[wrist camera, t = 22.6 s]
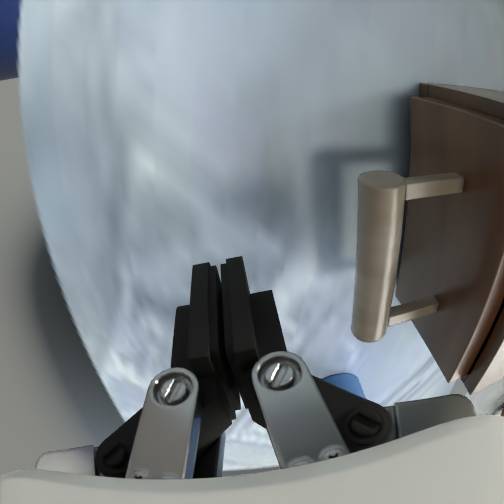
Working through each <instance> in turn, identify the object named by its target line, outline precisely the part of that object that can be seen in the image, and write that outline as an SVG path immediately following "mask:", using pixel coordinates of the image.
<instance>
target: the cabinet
mask: <svg viewBox="0 0 504 504" xmlns="http://www.w3.org/2000/svg"><path fill="white" fill-rule="evenodd" d="M420 97H432V98H436V99H439V100H443V101H447V102H450V103H454V104H457V105H461V106H464V107H467V108H470V109H474V110H477V111H480V112H483V113H486V114H489V115H491V116H494V117H497V118H500V119H502V120H504V92H499V91H493V90H486V89H480V88H472V87H464V86H455V85H445V84H433V83H420ZM502 378H504V307H503V310H502V312H501V314H500V316H499V319H498V321H497V323H496V325H495V327H494V329H493V331H492V334H491V336H490V338H489V340H488V342H487V344H486V346H485V347H484V349H483V347H481V349H480V351H479V353H478V355H477V357H476V358H475V360H474V362H473V364H472V366H471V368H470V369H469V371H468V373H467V375H466V376H464V377H461V380H462V382H463V383H464V385H465V387H466V388H467V390H468V392H469V394H470V395H472V394H474V393H476V392H478V391H480V390H481V389H483V388H485V387H487V386H489V385H491V384H493V383H495V382H496V381H498V380H500V379H502Z"/></svg>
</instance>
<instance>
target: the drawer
mask: <svg viewBox="0 0 504 504" xmlns="http://www.w3.org/2000/svg"><path fill="white" fill-rule="evenodd" d="M404 200H408V203H407V215H406V225H405V234H404V243H403V251H402V258H401V265H400V272H399V278H398V284H397V290H396V297H397V299H398V300H399V302H400V303H401V305H398V306H394V307H391V303H392V297H393V292H394V286H395V279H396V273H397V266H398V258H399V251H400V242H401V233H402V223H403V212H404ZM503 307H504V120H502V119H500V118H497V117H494V116H491V115H489V114H486V113H483V112H480V111H477V110H474V109H470V108H467V107H464V106H461V105H457V104H454V103H450V102H447V101H443V100H439V99H436V98H432V97H418V96H411V97H410V171H409V177H406V178H403V177H402V176H400V175H399V174H396V173H393V172H389V171H381V170H376V171H368V172H364V173H362V174H360V175H359V177H358V222H357V254H356V274H355V289H354V303H353V314H352V325H351V330H352V333H353V335H354V336H355V337H356V338H357V339H358V340H360V341H363V342H375V341H378V340H380V339H381V338H382V337H383V336H384V335H385V333H386V329H387V326H392V325H395V324H399V323H402V322H406V321H409V320H411V321H412V322H413V324H414V325H415V327H416V329H417V330H418V332H419V334H420V335H421V337H422V339H423V340H424V342H425V344H426V345H427V347H428V349H429V350H430V352H431V354H432V355H433V357H434V359H435V361H436V362H437V364H438V366H439V368H440V369H441V371H442V373H443V375H444V377H445V378H446V380H447V382H448V383H450V382H452V381H455V380H457V379H459V378H461V377H464V376H466V375H467V373H468V371H469V369H470V368H471V366H472V364H473V362H474V360H475V358H476V357H477V355H478V353H479V351H480V349H481V347H483V349H484V347H485V346H486V344H487V342H488V340H489V338H490V336H491V334H492V331H493V329H494V327H495V325H496V323H497V321H498V319H499V316H500V314H501V312H502V310H503Z"/></svg>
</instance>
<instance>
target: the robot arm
mask: <svg viewBox="0 0 504 504" xmlns="http://www.w3.org/2000/svg"><path fill="white" fill-rule="evenodd" d="M239 392H240V394H239ZM240 395H241V398H242V400H243V403H244V406H245V408H246V409H247V408H248V409H249V412H250V415H251V418H252V420H253V421H254V422H256V423H257V424H259V425H261V426H262V427H264V428H266V429H267V432H268V435H269V438H270V441H271V444H272V446H273V449H274V452H275V455H276V458H277V460H278V463H279V466H280V468H281V469H280V470H274V471H267V472H261V473H253V474H246V475H237V476H227V477H222V468H223V457H224V447H225V430H226V429H227V428H228V427H229V426H230V425H231V424H232V420H234V419H236V414H235V410H241V403H240ZM0 504H504V417H503V416H496V415H479V416H476V413H475V409H474V406H473V404H472V402H471V401H470V400H469V399H468V398H467V397H465V396H463V395H460V394H450V395H445V396H439V397H434V398H427V399H421V400H414V401H407V402H399V403H394V406H388V407H382V406H381V405H379V404H377V403H374V402H372V401H370V400H367V399H365V398H362V397H360V396H358V395H355V394H353V393H351V392H348V391H346V390H344V389H341V388H339V387H337V386H335V385H332V384H330V383H328V382H326V381H323V380H321V379H319V378H317V377H315V376H313V375H311V373H310V371H309V369H308V367H307V365H306V363H305V362H304V361H303V359H302V358H301V357H299V356H298V355H296V354H294V353H290V352H287V350H286V346H285V342H284V337H283V333H282V329H281V325H280V321H279V317H278V313H277V309H276V305H275V301H274V297H273V293H272V290H268V291H263V292H258V293H252V294H250V291H249V286H248V282H247V277H246V272H245V267H244V262H243V258H242V256H239V257H234V258H229V259H226V263H225V264H221V281H220V277H219V274H218V270H217V267H216V265H215V266H210V263H209V262H207V263H202V264H197V265H193V268H192V281H191V295H190V305H185V306H179V307H177V309H176V316H175V326H174V336H173V347H172V359H171V368H169V369H167V370H164V371H162V372H160V373H159V374H158V375H156V376H155V377H154V379H153V380H152V381H151V383H150V385H149V387H148V391H147V394H146V398H145V402H144V405H143V407H142V408H141V409H140V410H139V411H138V412H137V413H136V414H134V415H133V416H132V417H131V418H130V419H129V420H128V421H126V422H125V423H124V424H123V425H122V426H121V427H119V428H118V429H117V430H116V431H115V432H114V433H112V434H111V435H110V436H109V437H108V438H107V439H105V440H104V441H103V442H102V443H101V445H100V446H99V447H95V446H94V445H88V446H83V447H77V448H71V449H64V450H58V451H49V452H46V453H44V454H42V455H41V456H40V457H39V458H38V460H37V462H36V467H35V469H22V470H17V471H12V472H9V473H6V474H4V475H1V476H0Z"/></svg>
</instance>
